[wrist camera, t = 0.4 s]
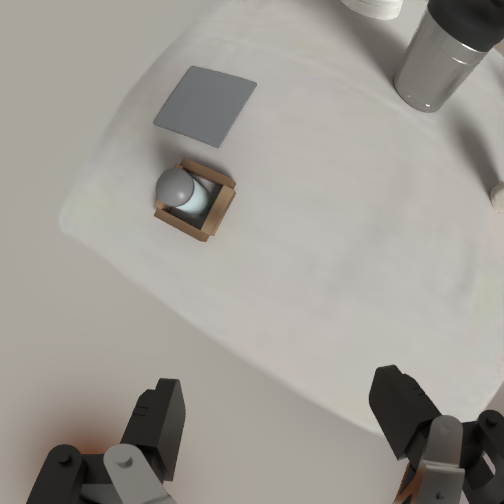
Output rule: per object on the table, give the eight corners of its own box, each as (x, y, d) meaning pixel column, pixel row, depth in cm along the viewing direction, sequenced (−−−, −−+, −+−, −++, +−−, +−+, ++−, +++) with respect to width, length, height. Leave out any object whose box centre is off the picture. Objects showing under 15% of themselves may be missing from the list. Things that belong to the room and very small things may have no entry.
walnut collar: (186, 161, 38) (180, 156, 36) (240, 185, 37) (236, 180, 35) (158, 216, 39) (150, 213, 36) (209, 244, 38) (204, 243, 35)
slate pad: (193, 67, 39) (192, 65, 38) (256, 85, 37) (256, 82, 37) (154, 124, 39) (153, 123, 39) (218, 148, 38) (217, 146, 37)
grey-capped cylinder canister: (191, 181, 38) (167, 162, 30) (217, 193, 38) (197, 176, 29) (178, 208, 38) (149, 196, 30) (203, 221, 38) (179, 210, 29)
